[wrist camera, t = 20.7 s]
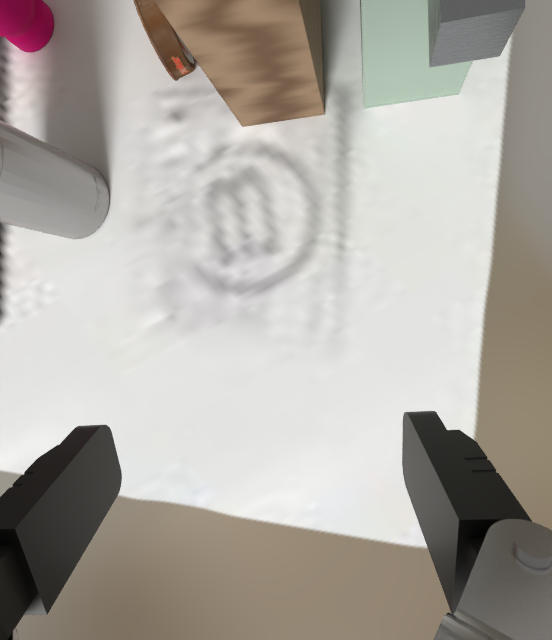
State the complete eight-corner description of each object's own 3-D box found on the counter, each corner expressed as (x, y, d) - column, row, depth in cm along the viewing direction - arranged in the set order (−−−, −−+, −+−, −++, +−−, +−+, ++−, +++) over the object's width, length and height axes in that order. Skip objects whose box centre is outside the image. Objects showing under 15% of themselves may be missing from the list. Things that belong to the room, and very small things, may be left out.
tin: (142, -23, 46) (93, -96, 37) (165, -38, 45) (120, -115, 37) (184, 96, 45) (144, 50, 37) (209, 83, 44) (173, 33, 36)
